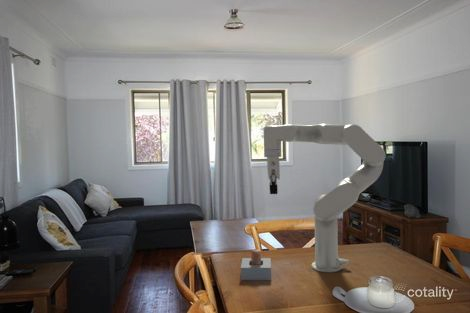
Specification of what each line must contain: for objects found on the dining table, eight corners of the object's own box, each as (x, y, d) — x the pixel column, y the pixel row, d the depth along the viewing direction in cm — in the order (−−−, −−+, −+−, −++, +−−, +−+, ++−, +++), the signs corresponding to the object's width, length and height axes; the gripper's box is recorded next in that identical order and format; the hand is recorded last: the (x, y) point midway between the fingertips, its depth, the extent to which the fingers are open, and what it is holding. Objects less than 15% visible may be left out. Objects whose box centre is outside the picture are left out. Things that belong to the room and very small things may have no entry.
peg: (261, 272, 161) (260, 249, 160) (261, 276, 157) (260, 252, 156) (251, 272, 161) (251, 249, 160) (251, 276, 157) (250, 252, 156)
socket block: (270, 269, 164) (270, 258, 164) (271, 280, 152) (270, 267, 152) (242, 269, 165) (242, 258, 165) (241, 280, 153) (240, 267, 153)
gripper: (282, 154, 160) (282, 195, 161) (280, 152, 177) (281, 189, 178) (264, 154, 160) (265, 195, 161) (264, 152, 177) (265, 189, 178)
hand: (273, 192), depth 169 cm, fingers open, 9 cm apart
